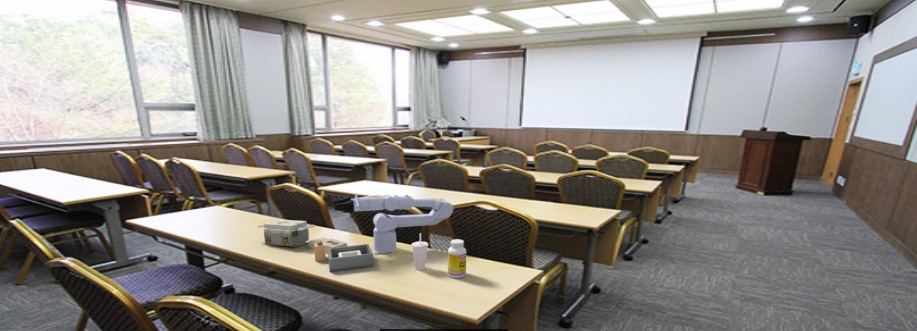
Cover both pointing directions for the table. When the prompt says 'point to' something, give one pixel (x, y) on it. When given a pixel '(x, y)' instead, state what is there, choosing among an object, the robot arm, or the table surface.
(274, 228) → the grey latched case
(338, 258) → the bay
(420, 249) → the smoothie
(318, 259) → the plug
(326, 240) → the electrical outlet
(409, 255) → the table surface
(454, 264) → the supplement bottle
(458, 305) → the table surface
